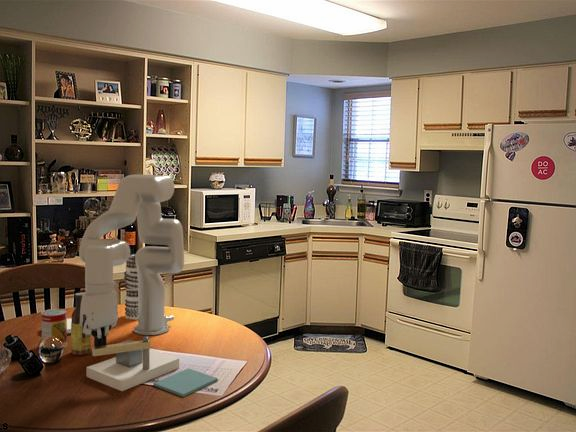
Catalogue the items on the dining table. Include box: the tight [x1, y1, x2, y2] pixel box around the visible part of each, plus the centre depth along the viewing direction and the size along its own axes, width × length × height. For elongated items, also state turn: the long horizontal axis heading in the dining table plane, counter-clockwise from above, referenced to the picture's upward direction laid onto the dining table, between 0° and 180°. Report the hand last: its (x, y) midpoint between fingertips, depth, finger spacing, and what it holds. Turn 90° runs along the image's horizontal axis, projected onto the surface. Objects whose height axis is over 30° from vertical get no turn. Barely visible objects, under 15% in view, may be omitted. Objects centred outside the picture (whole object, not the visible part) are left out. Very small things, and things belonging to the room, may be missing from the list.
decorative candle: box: [123, 253, 138, 320], centre depth 226 cm, size 9×9×25 cm
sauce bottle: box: [70, 292, 92, 356], centre depth 185 cm, size 7×6×20 cm
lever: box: [91, 335, 151, 357], centre depth 162 cm, size 2×16×3 cm, turn 118°
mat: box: [153, 367, 219, 398], centre depth 164 cm, size 14×12×1 cm
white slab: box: [86, 347, 180, 392], centre depth 171 cm, size 22×16×10 cm
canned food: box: [40, 308, 68, 349], centre depth 190 cm, size 8×8×12 cm
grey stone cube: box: [115, 339, 142, 368], centre depth 170 cm, size 5×6×6 cm
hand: (100, 349), depth 162 cm, fingers closed
